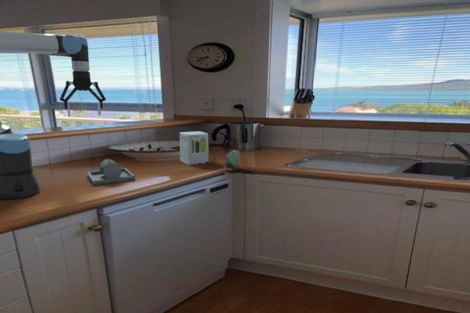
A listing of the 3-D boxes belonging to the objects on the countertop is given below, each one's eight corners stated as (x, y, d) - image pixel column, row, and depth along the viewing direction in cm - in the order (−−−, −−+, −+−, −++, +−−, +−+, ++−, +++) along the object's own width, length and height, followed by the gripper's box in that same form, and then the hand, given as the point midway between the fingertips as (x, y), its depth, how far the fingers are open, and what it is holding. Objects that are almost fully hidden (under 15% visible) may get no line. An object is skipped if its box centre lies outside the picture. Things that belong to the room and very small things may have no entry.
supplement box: (187, 165, 177) (187, 134, 173) (179, 160, 188) (179, 132, 184) (208, 162, 183) (208, 133, 180) (199, 158, 194) (199, 131, 191)
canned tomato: (118, 160, 142) (113, 156, 152) (101, 166, 139) (96, 162, 148) (124, 176, 145) (118, 171, 154) (107, 182, 141) (102, 177, 151)
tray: (135, 179, 146) (134, 175, 145) (93, 185, 136) (93, 181, 136) (125, 171, 161) (125, 167, 160) (87, 175, 151) (87, 172, 151)
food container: (237, 172, 161) (237, 154, 159) (225, 172, 163) (225, 153, 161) (241, 167, 173) (241, 149, 171) (230, 166, 174) (231, 149, 172)
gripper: (51, 69, 138) (56, 116, 142) (110, 71, 152) (113, 115, 156) (50, 70, 144) (55, 115, 149) (107, 72, 158) (109, 114, 162)
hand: (84, 115), depth 152 cm, fingers open, 13 cm apart
